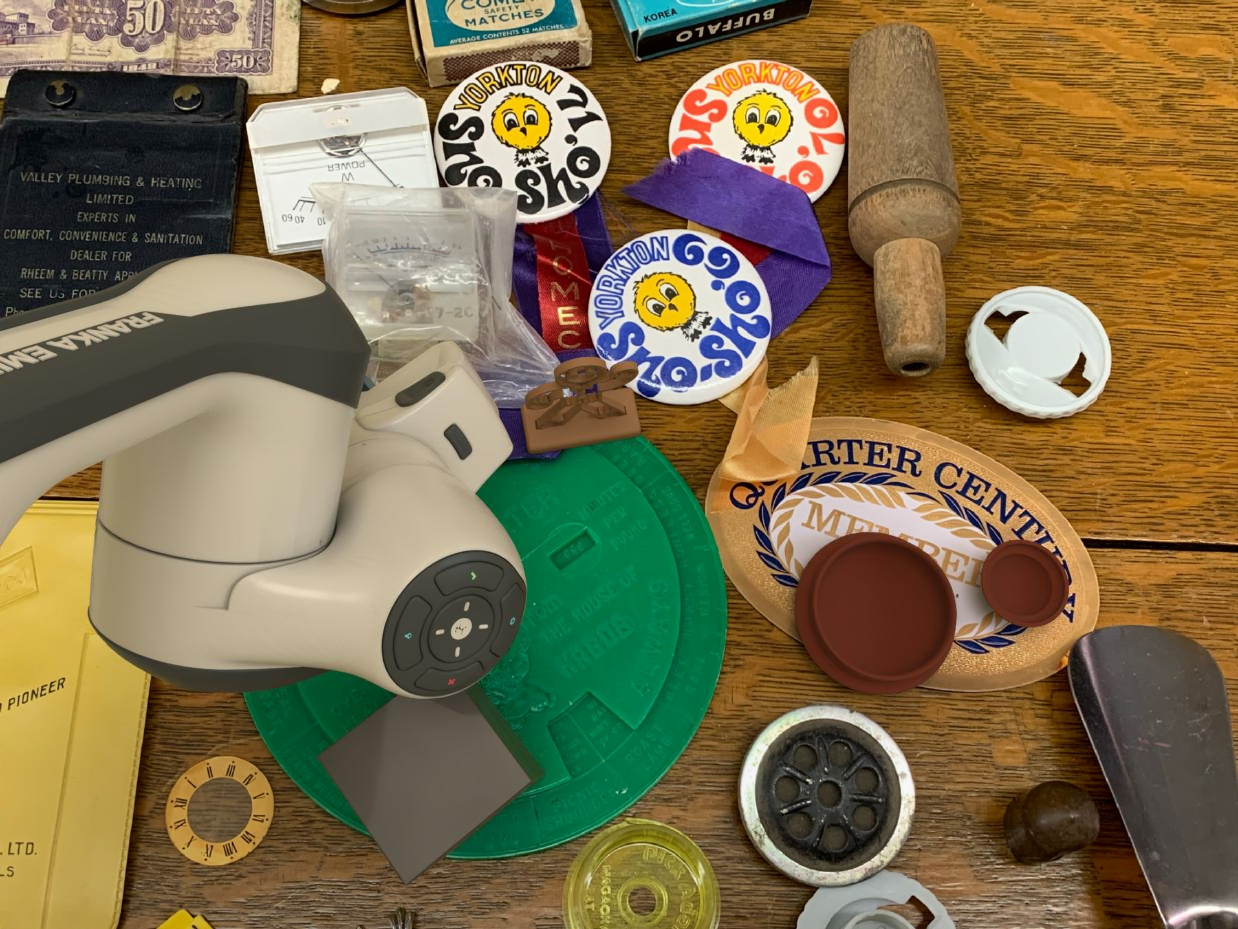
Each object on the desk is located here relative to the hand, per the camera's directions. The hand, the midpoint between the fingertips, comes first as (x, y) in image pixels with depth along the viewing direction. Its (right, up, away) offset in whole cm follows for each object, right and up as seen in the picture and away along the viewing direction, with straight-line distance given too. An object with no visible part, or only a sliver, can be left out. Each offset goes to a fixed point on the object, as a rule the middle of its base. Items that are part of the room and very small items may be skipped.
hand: (316, 424), depth 65 cm
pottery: (+43, -13, +6) cm, 45 cm away
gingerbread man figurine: (+18, +1, +10) cm, 20 cm away
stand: (+10, -24, +2) cm, 26 cm away
